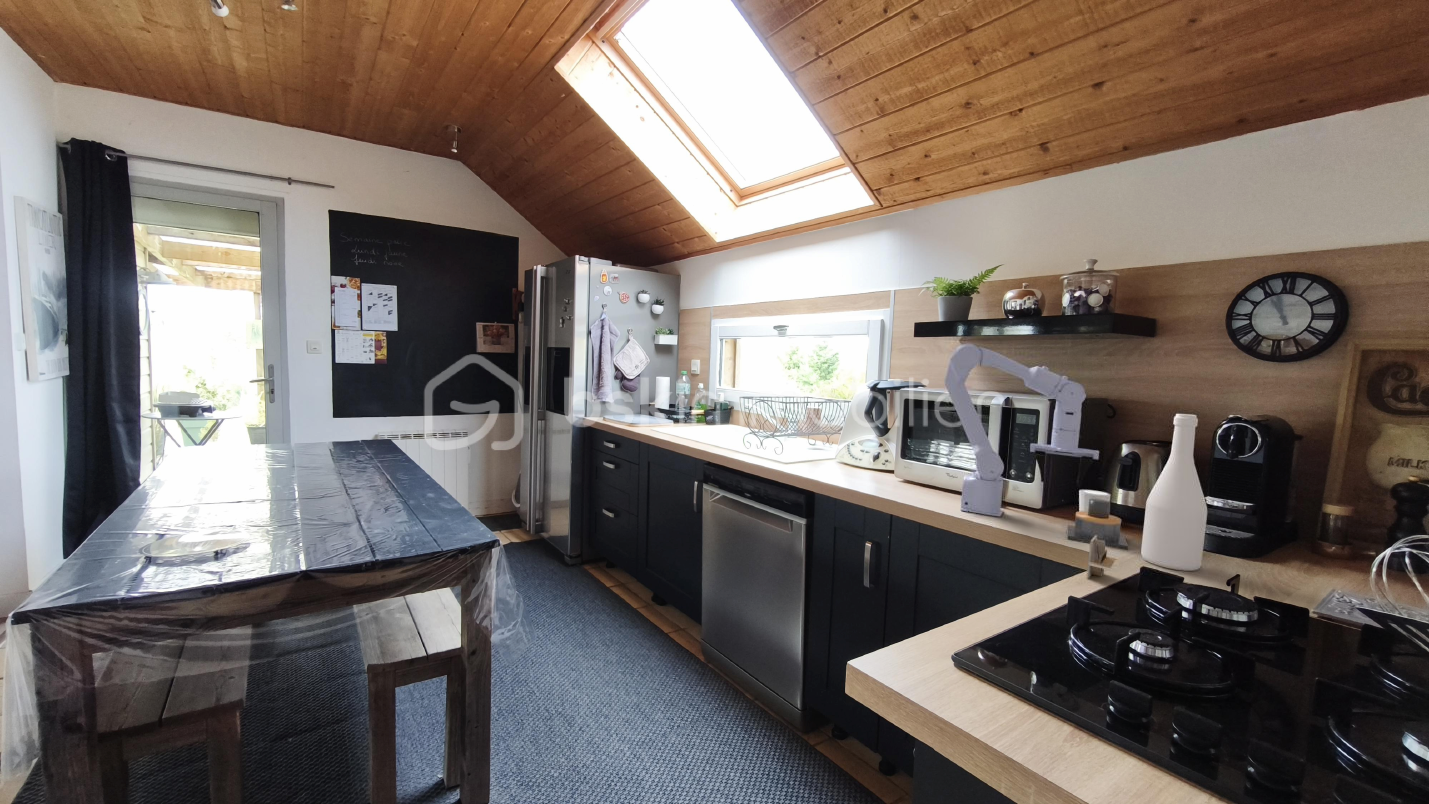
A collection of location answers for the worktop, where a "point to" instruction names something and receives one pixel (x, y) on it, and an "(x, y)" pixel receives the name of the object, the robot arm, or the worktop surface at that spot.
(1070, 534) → the grey bowl on base
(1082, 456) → the robot arm
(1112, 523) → the cap
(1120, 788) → the worktop surface
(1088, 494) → the shot glass
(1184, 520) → the wine bottle
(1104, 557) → the architectural model
